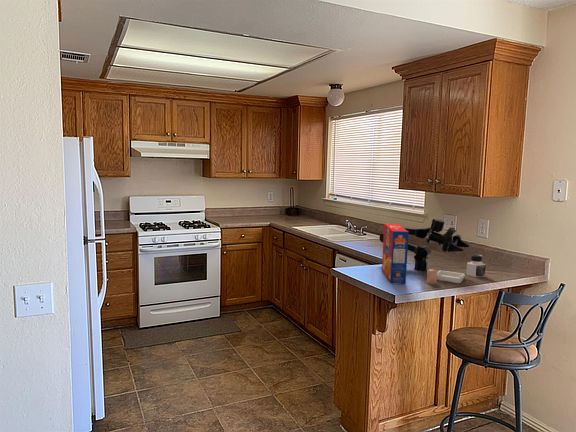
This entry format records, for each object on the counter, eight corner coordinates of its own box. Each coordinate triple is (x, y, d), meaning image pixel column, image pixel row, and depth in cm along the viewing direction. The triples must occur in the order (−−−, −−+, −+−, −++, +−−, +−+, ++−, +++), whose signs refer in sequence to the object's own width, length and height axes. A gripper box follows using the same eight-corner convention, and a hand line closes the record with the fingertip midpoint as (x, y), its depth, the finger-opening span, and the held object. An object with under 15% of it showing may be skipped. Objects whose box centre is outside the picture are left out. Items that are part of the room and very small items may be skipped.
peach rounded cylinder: (425, 283, 234) (426, 270, 233) (427, 281, 239) (428, 268, 238) (435, 284, 232) (435, 271, 231) (437, 282, 236) (438, 270, 235)
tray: (433, 279, 242) (433, 275, 242) (439, 274, 254) (439, 270, 254) (459, 283, 235) (460, 279, 235) (464, 278, 247) (464, 273, 247)
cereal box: (381, 270, 260) (384, 223, 257) (395, 271, 260) (398, 224, 256) (390, 283, 232) (393, 231, 229) (405, 284, 232) (408, 231, 228)
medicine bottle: (475, 277, 249) (477, 256, 247) (466, 274, 255) (467, 254, 254) (485, 276, 252) (486, 255, 250) (475, 273, 258) (476, 253, 257)
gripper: (436, 229, 246) (464, 238, 237) (449, 222, 260) (475, 231, 251) (431, 247, 250) (458, 257, 241) (444, 239, 264) (470, 249, 255)
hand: (466, 248), depth 247 cm, fingers open, 9 cm apart
